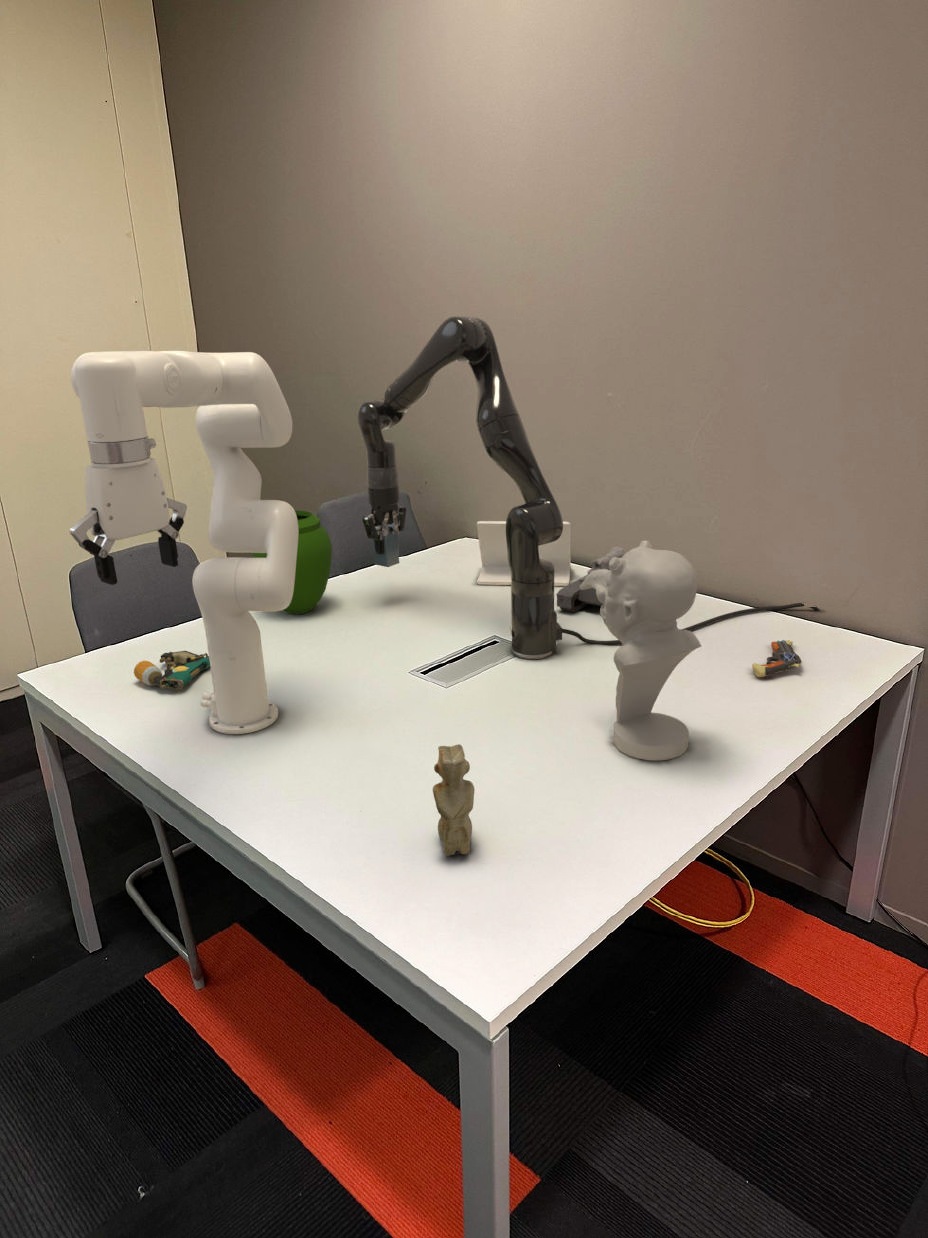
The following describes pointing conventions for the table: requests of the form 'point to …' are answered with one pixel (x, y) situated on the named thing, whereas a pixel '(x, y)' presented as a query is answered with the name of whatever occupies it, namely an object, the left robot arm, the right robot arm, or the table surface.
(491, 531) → the tablet stand
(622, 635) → the bust sculpture
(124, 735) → the table surface
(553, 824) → the table surface
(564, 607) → the toy
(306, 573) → the vase
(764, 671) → the toy gun
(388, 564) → the brick
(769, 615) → the table surface
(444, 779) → the sculpture
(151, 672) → the spray gun
